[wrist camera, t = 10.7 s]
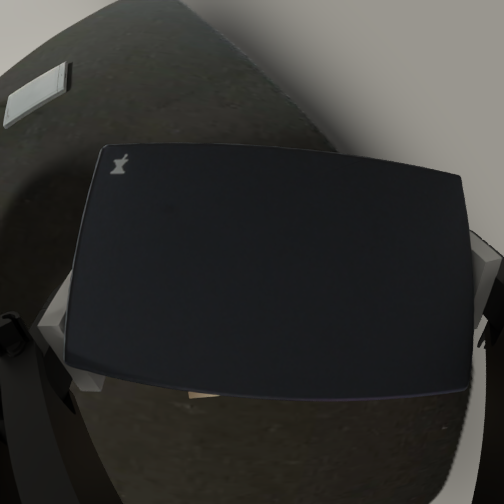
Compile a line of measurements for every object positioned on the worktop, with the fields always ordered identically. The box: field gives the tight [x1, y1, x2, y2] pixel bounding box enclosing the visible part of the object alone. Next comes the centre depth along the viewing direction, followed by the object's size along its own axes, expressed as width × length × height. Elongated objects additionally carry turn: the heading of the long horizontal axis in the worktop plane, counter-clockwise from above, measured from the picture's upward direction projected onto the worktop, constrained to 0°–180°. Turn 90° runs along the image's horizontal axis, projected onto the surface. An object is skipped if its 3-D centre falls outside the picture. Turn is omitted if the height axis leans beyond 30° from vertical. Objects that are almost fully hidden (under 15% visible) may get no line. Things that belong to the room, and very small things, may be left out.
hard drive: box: [3, 62, 68, 129], centre depth 37 cm, size 2×8×12 cm
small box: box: [63, 143, 474, 401], centre depth 12 cm, size 11×6×10 cm, turn 85°
